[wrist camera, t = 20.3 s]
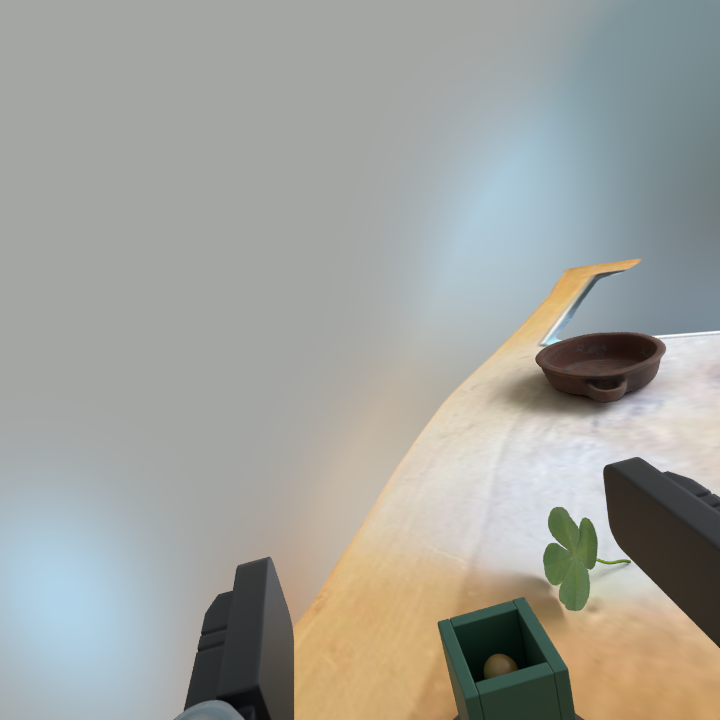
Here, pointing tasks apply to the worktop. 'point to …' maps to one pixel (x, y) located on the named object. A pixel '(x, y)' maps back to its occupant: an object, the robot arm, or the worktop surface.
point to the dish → (602, 364)
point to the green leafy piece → (571, 557)
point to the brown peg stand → (501, 670)
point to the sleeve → (512, 690)
